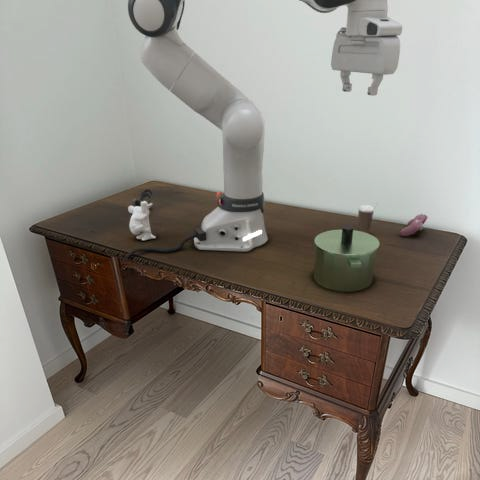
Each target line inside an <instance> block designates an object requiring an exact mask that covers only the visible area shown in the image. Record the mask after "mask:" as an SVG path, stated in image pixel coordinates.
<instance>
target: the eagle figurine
mask: <svg viewBox="0 0 480 480" xmlns="http://www.w3.org/2000/svg"><path fill="white" fill-rule="evenodd" d="M139 195H140V196H139V199H138V198H137V197H136V198H134V199H133V200H132V201H131V206H133V207H136V206H140V207H141V202H143V201H146V202H147V203H148V204H150V203H151V200H150V199H152V198H153V192H152V190H151V189H148V188H147V189H145V190H144V191H142V192H141V193H140V194H139ZM148 209H149V210H151V207H150V208H148Z"/></svg>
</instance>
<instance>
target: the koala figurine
mask: <svg viewBox="0 0 480 480" xmlns="http://www.w3.org/2000/svg"><path fill="white" fill-rule="evenodd" d="M147 202H148V201H143V202H141V207H140V206H136V205H135V206H133V205H129V206H128V207H127V209H128V210H127V211H128V212H129V214H132V215H131V216H130V219H129V224H128V226H129V231H130V232H131V234H132V235H135V236H136V237H135V238H136V239H137V240H141V241H142V242H144V241H147V240H148V241H149V240H154V239H155V240H156V239H157V237H156V235H154V234H153V233H152V230H151V229H152V228H151V224H150V219H149V217H150V216H149V215H150V209H151V207H152V206H153V204H154V203H153V202H149V203H147ZM149 208H150V209H149Z"/></svg>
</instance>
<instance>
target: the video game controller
mask: <svg viewBox="0 0 480 480" xmlns="http://www.w3.org/2000/svg"><path fill="white" fill-rule="evenodd" d="M428 218H429V216H428V215H427V214H425V213H424V214H423V213H420V214H418V215H416V216H415V217H414V218H412V219H409V221H408V222H407V226H406V227H404V228H402V229H401V230H400V231H399V235H400V236H401V237H409V236H411V235H412V236H414V235H415V234H416V233H417V232H418V231H419V232H421V231H422V230H423V227H422V226H423V225H424V224H425V223H426V222H427V219H428Z"/></svg>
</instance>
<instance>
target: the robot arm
mask: <svg viewBox="0 0 480 480" xmlns="http://www.w3.org/2000/svg"><path fill="white" fill-rule="evenodd" d="M299 1H300V2H302V3H304V4H305V5H307V6H308V7H309V8H311V9H312V10H313V11H315V12H317V13H320V14H329V13H332V12H334V11H336V10H337V9H338V8H340V7H343V6H344V7H346V8H347V15H346V16H347V17H346V26H345V27H344V26H343V27H340V29H339V30H338V31H337V33H336V34H335V39H334V43H333V45H332V46H333V47H332V52H331V57H330V67H331V69H332V71H337V72H338V71H339V73H340V74H339V75H340V77H339V78H340V79H341V84H342V88H341V91H342V92H344V93H348V92H349V93H350V92H351V91H352V90H353V89H352V88H353V83H351V81H350V76H351V73H362V74H371V79H372V82H371V84H370V86H368V87H367V93H366V94H367V95H368V96H371V97H372V96H377V95H378V91H379V87H380V85H381V84H382V81H383V80H384V76H385V75H394V74H395V73H396V71H397V69H398V66H399V60H400V53H401V39H400V37H399V36H401V34H402V32H403V25H402V23H400V22H398V21H397V20H395V19H393V18H392V17H390V16H388V12H389V6H388V0H299ZM185 2H186V1H185V0H127V12H128V17H129V20H130V22H131V24H132V25H133V27H134V29H136V31H138V32H139V33H140V34H142V35H143V36H144V39H143V40H142V42H141V45H140V50H139V59H140V60H141V63H142V64H143V66H144V67H145V68H146V70H148V72H149V73H150V74H151V75H152V77H154V78H155V79H156V80H157V81H158V82H159V83H160V84H161V85H162V86H163V87H164V88H166V89H167V90H168V91H170V92H171V93H172V94H173V95H174V96H175V97H176V98H177V99H179V100H180V101H181V102H182V103H184V104H185V105H186V106H187V107H189V108H190V109H191V110H192V111H193V112H195V113H196V114H198V115H199V116H201V117H203V118H204V119H206V120H207V121H208V122H210V123H211V124H212V125H214V126H215V127H217V128H218V129H219V130H220V131H221V132H222V135H221V136H222V161H223V162H222V163H223V164H222V169H223V172H222V173H223V191H224V192H222V191H218V192H217V193H216V199H217V207H216V208H214V209H213V210H212V211H211V212H209V213H208V214H207V215H205V217H204V218H203V220H202V222H201V226H200V227H198V228H194V229H193V230H194V234H192V235H189V236H186V237H185V238H184V239H182V241H181V243H179V245H178V246H175V247H172V248H158V247H139V248H135V249H133V250H131V251H129V252H128V253H127V255H125V257H124V260H128V259H130V257H131V256H133V255H134V254H137V253H140V252H158V253H174V252H177V251H179V250H181V249H182V248H183V247H184V246H185V244H186V243H187V242H188V241H191V240H193V244H194V247H195V248H196V249H197V250H201V251H218V252H219V251H221V252H245V253H246V252H250V251H251V250H253V249H255V248H257V247H260V246H262V245H264V244H266V242H268V240H269V237H268V234H267V230H266V224H265V219H264V212H265V194H264V192H263V164H264V151H265V134H266V133H265V132H266V122H265V117H264V115H263V113H262V112H261V110H260V108H259V107H258V106H257V105H256V104H255V103H254V102H253V100H251V99H250V98H249V97H248V96H247V95H245V94H244V93H243V92H242V91H241V90H239V88H237V86H236V85H234V84H232V83H231V82H230V81H229V80H228V79H226V78H225V77H224V76H223V75H222V74H221V73H219V72H218V71H217V70H216V69H215V68H213V66H211V64H210V63H208V62H207V61H206V60H205V59H204V58H203V57H201V56H200V55H199V54H198V53H197V52H195V50H193V49H192V48H191V47H190V46H189V45H188V44H186V42H184V40H183V39H182V38H181V37H180V35H179V33H178V30H179V29H180V25H181V21H182V18H183V14H184V11H185V4H186V3H185Z"/></svg>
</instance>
